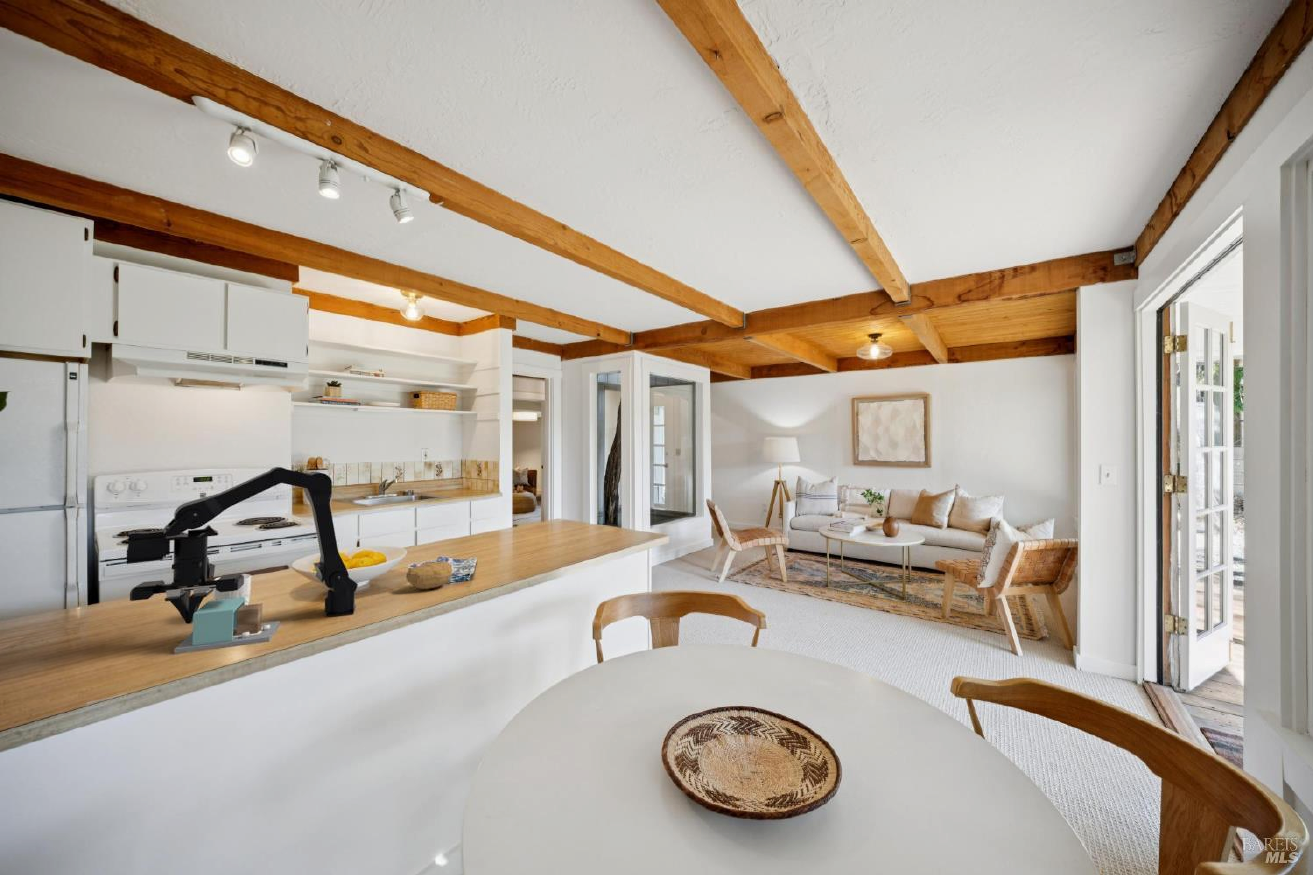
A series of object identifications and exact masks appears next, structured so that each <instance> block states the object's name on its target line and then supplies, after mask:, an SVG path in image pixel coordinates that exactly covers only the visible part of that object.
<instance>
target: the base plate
mask: <svg viewBox="0 0 1313 875" xmlns="http://www.w3.org/2000/svg"><path fill="white" fill-rule="evenodd" d="M280 625H281V622H280V620H278V621H269V622H262V628H261V629H260V631H259V632H258V633H255V634H249V632H243V633H242V635H239V636H237V627H235V628H233V640H232V641H225V642H217V643H210V644H202V645H194V646H193V631H192V632H191V633H190V634H189V635H188V636H186V638H185V639H183V641H182V642H180V643H179V645H177V646H176V647H175V648H174V650H173V654H174V655H175V654H177V655H178V654H184V653H192V652H199V651H204V650H205V651H206V650H214V649H223V648H228V647H230V648H231V647H236V646H243V645H244V646H245V645H252V644H257V643H258V644H259V643H265V642H270V641H271V639H272V638H273V637H274V635H275V633H276V631H277V630H278V629H279V627H280Z"/></svg>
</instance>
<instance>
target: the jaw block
mask: <svg viewBox="0 0 1313 875" xmlns="http://www.w3.org/2000/svg"><path fill="white" fill-rule="evenodd" d="M262 623H263V603H254V604H249V605H242V606H241V607H240V608H239V609H238V610H237V636H239V635H242V633H243V632H249V634H255V633H258V632H259V631H260V629H261V628H262Z"/></svg>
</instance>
